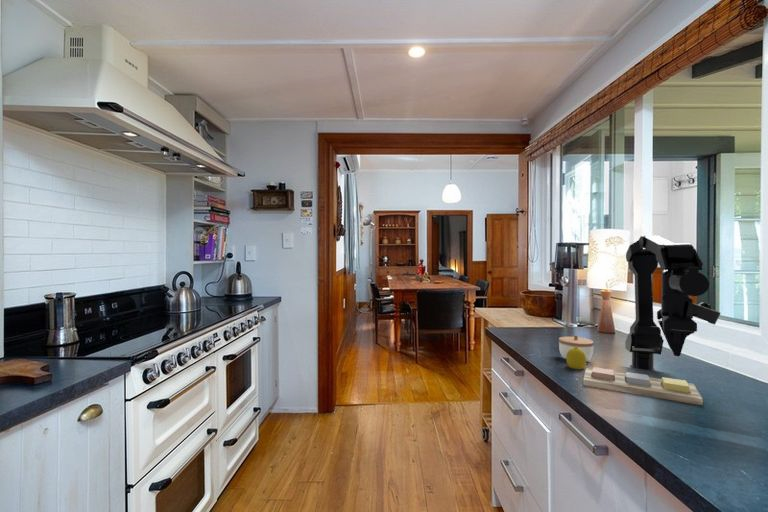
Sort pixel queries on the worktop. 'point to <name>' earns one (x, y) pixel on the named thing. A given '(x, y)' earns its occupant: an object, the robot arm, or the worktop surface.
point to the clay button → (603, 373)
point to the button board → (643, 388)
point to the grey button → (637, 379)
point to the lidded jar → (576, 345)
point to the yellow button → (675, 384)
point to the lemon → (576, 358)
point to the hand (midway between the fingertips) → (674, 352)
